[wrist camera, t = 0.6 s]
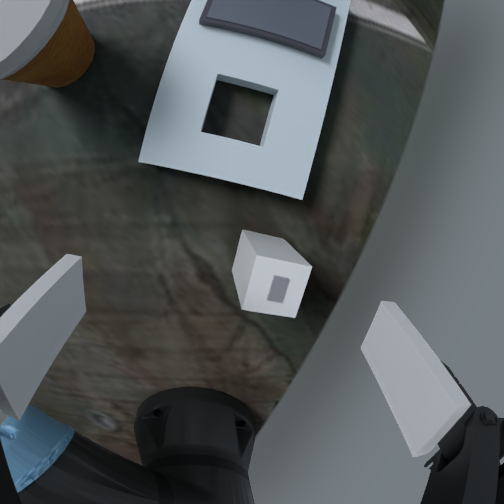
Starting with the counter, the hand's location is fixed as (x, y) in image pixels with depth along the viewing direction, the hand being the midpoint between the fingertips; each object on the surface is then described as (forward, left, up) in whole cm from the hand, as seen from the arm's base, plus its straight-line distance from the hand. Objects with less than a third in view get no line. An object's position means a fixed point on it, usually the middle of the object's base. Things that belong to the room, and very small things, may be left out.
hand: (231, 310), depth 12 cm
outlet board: (+16, +1, -16) cm, 22 cm away
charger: (-1, -4, -16) cm, 16 cm away
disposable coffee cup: (+14, +19, -16) cm, 28 cm away
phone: (+21, +1, -14) cm, 25 cm away
